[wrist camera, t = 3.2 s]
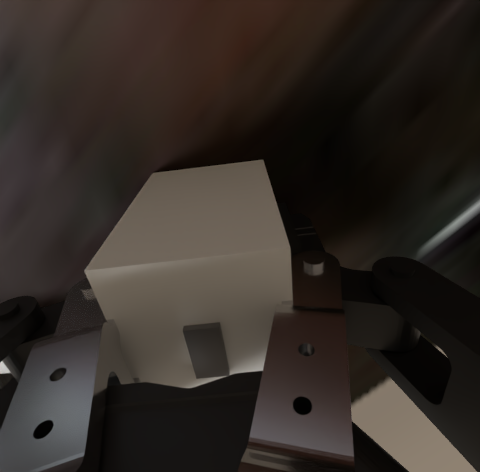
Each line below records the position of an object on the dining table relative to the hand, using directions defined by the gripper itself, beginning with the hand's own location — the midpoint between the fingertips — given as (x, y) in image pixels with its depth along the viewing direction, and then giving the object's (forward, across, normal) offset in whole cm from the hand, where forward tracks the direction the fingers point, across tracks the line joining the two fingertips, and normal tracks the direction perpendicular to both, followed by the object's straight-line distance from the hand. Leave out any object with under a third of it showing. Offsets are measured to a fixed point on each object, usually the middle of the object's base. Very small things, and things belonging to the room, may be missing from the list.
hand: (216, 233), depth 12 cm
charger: (+1, 0, 0) cm, 1 cm away
